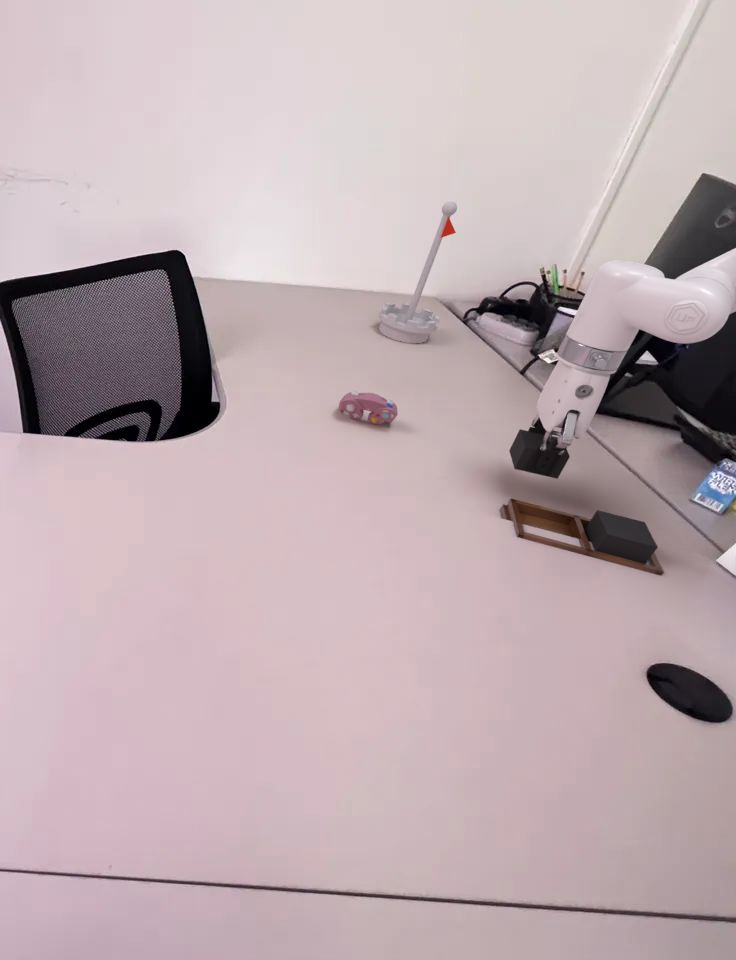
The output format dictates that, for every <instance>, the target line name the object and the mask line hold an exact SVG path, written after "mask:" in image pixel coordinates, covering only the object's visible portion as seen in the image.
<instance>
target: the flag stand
mask: <svg viewBox="0 0 736 960" xmlns="http://www.w3.org/2000/svg"><path fill="white" fill-rule="evenodd" d="M457 211H458V205H457V203H456V202H455V201H451V200H449V201H447V202H445V203H443V205H442V207H441V213H442V216H441V220H440V222H439V225H438V228H437V230H436V233H435V236H434V238H433V242H432V244H431V246H430V248H429V249H430V250H429V252H428V255H427V257H426V260H425V263H424V265H423V269H422V271H421V274H420V277H419V280H418V282H417V284H416V288H415V291H414V293H413V296H412V299H411V301H410V303H405V302H402V303H401V306H399V307H398V306H397V305H396V303H395V302H386V303H385V304H384V305H381V308H380V310H379V313H378V319H379V320H380V325H379V327H378V332H380V334H382V335H383V336H385V337H386V336H387V338H389V339H391V340H394V341H397V342H400V341H401V343H406V344H413V343H414V344H415V343H419V344H424V343H426V342H427V341H428V338H429V337H430V334H431V333H434V332H435V331H436V330H437V329H438V326H439V323H440V321H441V317H440V315H433V313H434V311H432V310H430V309H428V308H425V307H423V308H421V310H420V311H418V310H417V307H418V304H419V302H420V299H421V296H422V294H423V291H424V288H425V286H426V283H427V281H428V278H429V275H430V272H431V270H432V267H433V264H434V262H435V259H436V256H437V255H438V251H439V249H440V245H441V243H442V240H443V238H445V237H448V236H450V235H454V234H456V230H455V228H454V225H453V223H452V220H451V219H450V218H451V216H453V215H454V214H455V213H457ZM396 306H397V307H396ZM432 315H433V316H432ZM423 342H424V343H423ZM415 345H416V344H415Z"/></svg>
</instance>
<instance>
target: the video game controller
mask: <svg viewBox="0 0 736 960" xmlns="http://www.w3.org/2000/svg"><path fill="white" fill-rule="evenodd" d="M338 410H339V411H340V412H344V411H345V412H346V413H348V416H349V417H350V418H351V419H353V420H355V421H358V420H361V419H362V418H363V416H364V414H365V411H367V412H369V413H368V415H367V422H368V423H369V424H370V425H371V424H372V425H379V424H380V423H383V422H386V423H388V424H391V423H392V422H393V421H395V419H396V418H397V416H398V406H397V404H396V403H395V402H394V400H393V399H386V398H384V397H383V396H381V395H379V394H377V393H373V392H358V391H356V390H352V391H350V392H348V393H346V394H344V395H343V397H342V398H341V400H340V401H339V403H338Z"/></svg>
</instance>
